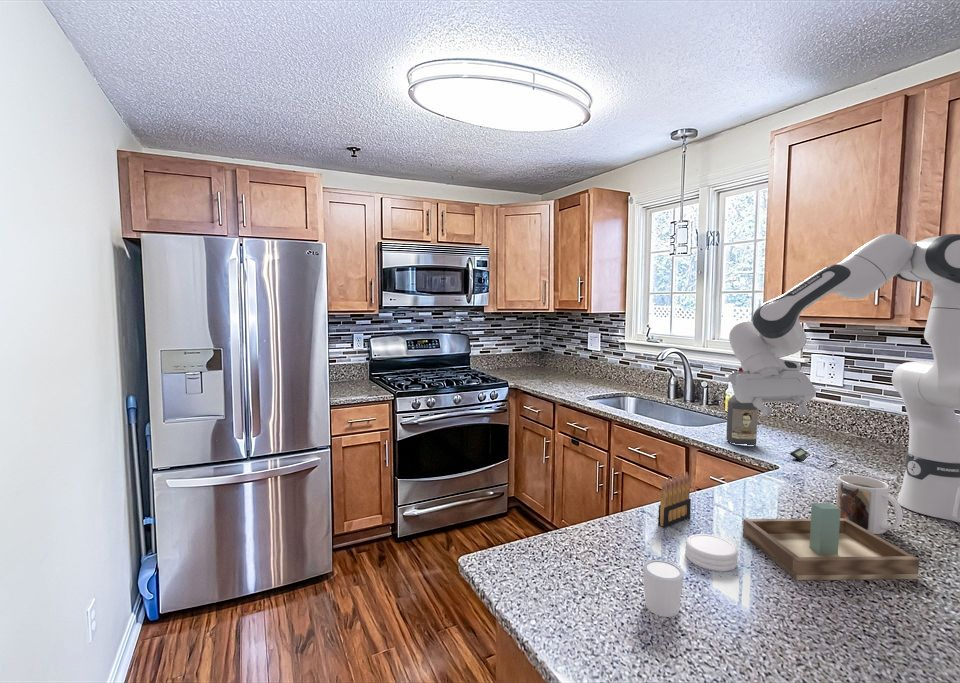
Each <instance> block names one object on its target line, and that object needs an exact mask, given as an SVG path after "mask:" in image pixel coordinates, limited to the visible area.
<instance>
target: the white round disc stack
mask: <svg viewBox="0 0 960 683" xmlns="http://www.w3.org/2000/svg"><path fill="white" fill-rule="evenodd" d="M684 552H685V553H684V554H685V555H686V558H687V559H688V560H689V561H690V563H692V564H694V565H696V566H698V567H700V568H703V569H706V570H708V571H714V572H729V570H730V571H732V570H734V569H736V568H737V566H738V554H739V551H738V549H737V546H736V545H735V544H733V543H732V542H730V541H729V540H727V539H725V538H723V537H720V536H717V535H712V534H706V533H705V534H704V533H698V534H697V533H696V534H692V535H689V536H688V537H687V538H686V539H685V551H684Z"/></svg>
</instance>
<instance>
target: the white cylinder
mask: <svg viewBox="0 0 960 683" xmlns="http://www.w3.org/2000/svg"><path fill="white" fill-rule="evenodd" d="M642 574H643V576H642V578H643V589H644V590H643V591H644V604H645V607H646V609H647V610H649V612H650V613H652V614H654V615H656V616H659V617H662V618H663V617H664V618H673V617H676V616H677V615H678V614H679V612H680V604H681V598H682V590H683V584H684V576H685V572H684V571H683V569H682V568H680V567H679V566H678V565H677V564H675V563H672V562H671V561H665V560H661V559H651V560H647V561H646V562H644V563H643V565H642Z"/></svg>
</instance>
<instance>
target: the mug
mask: <svg viewBox="0 0 960 683" xmlns="http://www.w3.org/2000/svg"><path fill="white" fill-rule="evenodd" d="M836 489H837V491H836V503H835V504H836V505H835V506H836V507H838V508H840V509H841V510H840V518H846V519H848V520H850V521H852V522H853V523H855V524H857V525H859V526H860V527H862V528H864V529H866V530H868V531H869V532H871V533H873V534H875V535H881V534H884V533H886V532H887V531H890V530H895V529H897V528H898V527H900V525H901V524H902V522H903V517H904V514H903V513H904V512H903V509H902V506H901V505H900V504H899V502H898V501H897V498H895V496H893V495H891V494H889V492H890V486H889V484H888V483H886V482H885V481H882V480H879V479H877V478H874V477H870V476H865V475H858V474H841V475H839V476H837V488H836ZM889 503H891V505H892V506H893V508H894V511H895V519H894V522H893V523H892V524H891V525H887V524H888V509H889Z"/></svg>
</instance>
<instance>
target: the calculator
mask: <svg viewBox="0 0 960 683" xmlns="http://www.w3.org/2000/svg"><path fill="white" fill-rule="evenodd" d="M789 455H790V456H791V457H793V458H794V459H796V460H797V461H799V460H800V461H804V460H805V459H806V458H807V457H808V456H810V455H811V454H810V453H809V452H807V451H806V450H804V449H803V448H802V447H799V448H796V449H795V450H793V451H791V452H790V453H789ZM800 461H799V462H800Z"/></svg>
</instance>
